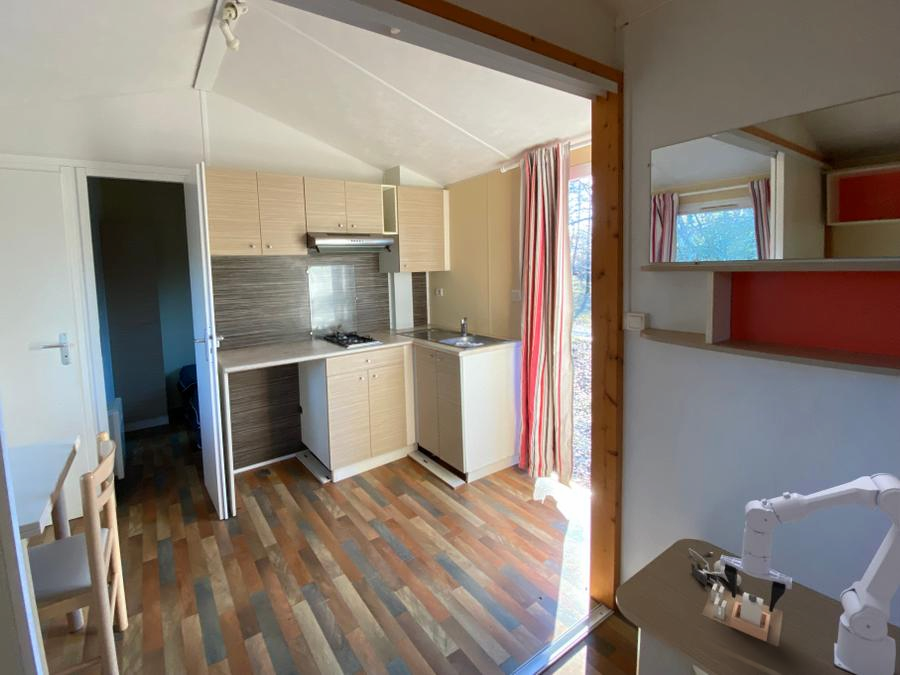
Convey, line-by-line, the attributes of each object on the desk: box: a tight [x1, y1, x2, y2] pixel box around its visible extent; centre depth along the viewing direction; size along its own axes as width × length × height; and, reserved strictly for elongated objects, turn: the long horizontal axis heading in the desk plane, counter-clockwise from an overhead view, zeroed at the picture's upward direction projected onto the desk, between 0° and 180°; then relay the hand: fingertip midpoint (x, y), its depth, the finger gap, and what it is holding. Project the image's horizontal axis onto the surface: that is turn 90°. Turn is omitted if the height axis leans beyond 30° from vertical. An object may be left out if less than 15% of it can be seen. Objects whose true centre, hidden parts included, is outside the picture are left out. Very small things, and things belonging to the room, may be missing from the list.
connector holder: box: [730, 602, 770, 642], centre depth 112 cm, size 7×7×2 cm
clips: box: [711, 583, 727, 620], centre depth 118 cm, size 4×9×3 cm, turn 140°
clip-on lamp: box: [688, 548, 742, 588], centre depth 133 cm, size 12×6×18 cm
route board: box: [701, 586, 784, 648], centre depth 116 cm, size 16×15×1 cm
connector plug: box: [740, 591, 764, 627], centre depth 111 cm, size 4×4×8 cm
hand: (752, 602), depth 111 cm, fingers open, 7 cm apart
